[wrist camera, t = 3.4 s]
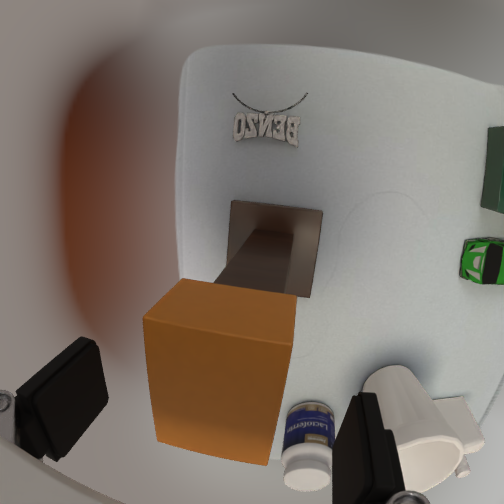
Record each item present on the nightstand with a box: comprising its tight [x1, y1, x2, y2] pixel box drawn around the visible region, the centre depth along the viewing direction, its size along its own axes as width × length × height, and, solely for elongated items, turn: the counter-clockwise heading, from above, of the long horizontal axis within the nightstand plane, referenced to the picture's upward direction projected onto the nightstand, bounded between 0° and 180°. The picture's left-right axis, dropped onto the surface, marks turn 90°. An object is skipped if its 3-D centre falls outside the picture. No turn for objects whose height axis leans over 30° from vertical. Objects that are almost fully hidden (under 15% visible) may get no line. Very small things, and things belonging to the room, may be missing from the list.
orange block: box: [143, 278, 297, 466], centre depth 11 cm, size 6×4×4 cm
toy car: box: [460, 238, 504, 285], centre depth 24 cm, size 10×5×2 cm, turn 90°
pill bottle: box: [281, 402, 335, 491], centre depth 29 cm, size 6×6×10 cm
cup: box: [362, 365, 464, 493], centre depth 25 cm, size 10×10×13 cm
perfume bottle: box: [432, 396, 485, 478], centre depth 25 cm, size 8×2×12 cm, turn 90°
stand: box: [214, 200, 323, 298], centre depth 21 cm, size 8×8×17 cm
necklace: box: [232, 93, 308, 148], centre depth 25 cm, size 7×1×5 cm
